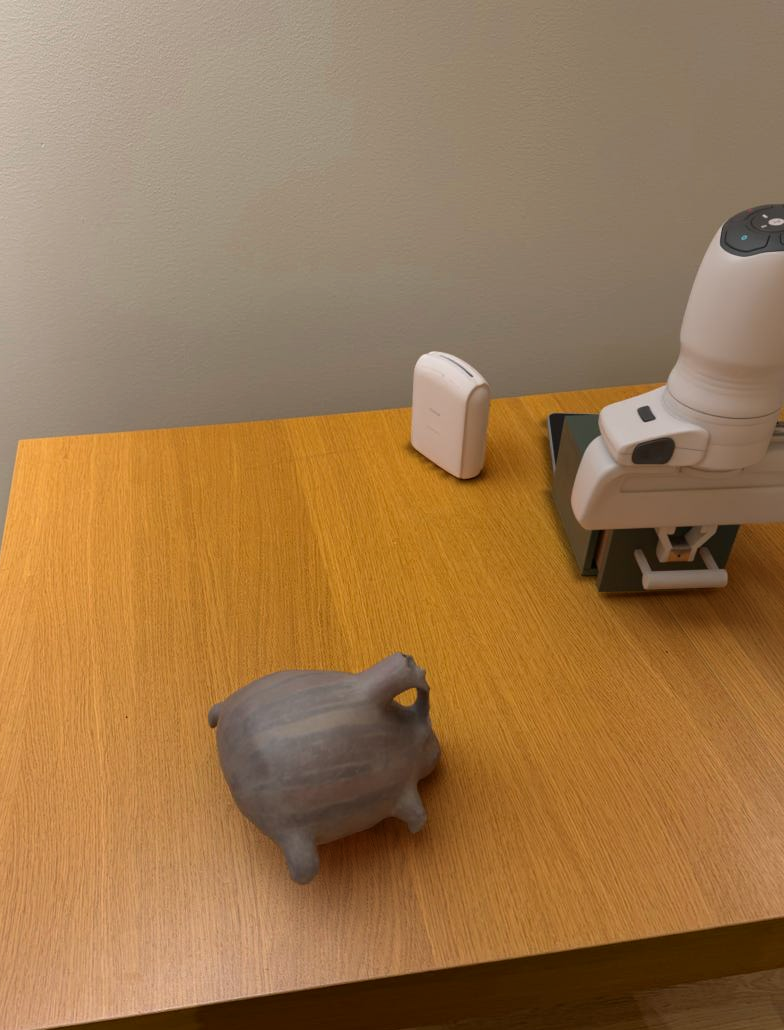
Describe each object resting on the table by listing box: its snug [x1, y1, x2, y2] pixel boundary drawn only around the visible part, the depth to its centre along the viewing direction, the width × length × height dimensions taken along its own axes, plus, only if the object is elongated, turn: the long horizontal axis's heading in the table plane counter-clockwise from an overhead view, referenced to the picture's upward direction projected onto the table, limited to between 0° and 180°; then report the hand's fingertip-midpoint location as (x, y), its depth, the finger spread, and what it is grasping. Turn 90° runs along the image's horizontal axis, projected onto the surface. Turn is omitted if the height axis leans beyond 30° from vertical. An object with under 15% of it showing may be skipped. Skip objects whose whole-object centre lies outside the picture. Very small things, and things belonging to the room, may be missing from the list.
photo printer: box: [410, 351, 492, 480], centre depth 104 cm, size 10×4×12 cm, turn 32°
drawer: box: [594, 524, 741, 593], centre depth 88 cm, size 18×11×8 cm, turn 1°
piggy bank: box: [207, 651, 442, 886], centre depth 69 cm, size 18×16×14 cm
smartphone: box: [546, 412, 600, 475], centre depth 107 cm, size 7×1×15 cm
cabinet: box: [550, 415, 601, 576], centre depth 93 cm, size 15×13×10 cm
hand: (673, 558), depth 84 cm, fingers closed
